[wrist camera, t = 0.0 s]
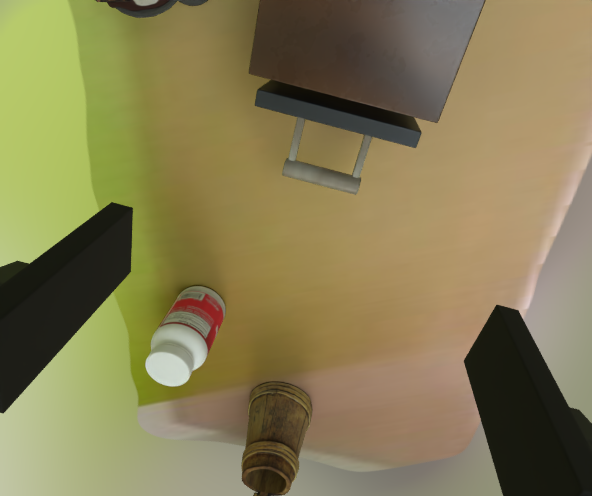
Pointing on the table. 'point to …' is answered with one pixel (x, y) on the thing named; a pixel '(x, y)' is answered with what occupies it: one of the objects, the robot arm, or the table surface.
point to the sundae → (147, 6)
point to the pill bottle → (185, 335)
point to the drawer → (336, 115)
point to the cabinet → (367, 49)
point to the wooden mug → (274, 437)
